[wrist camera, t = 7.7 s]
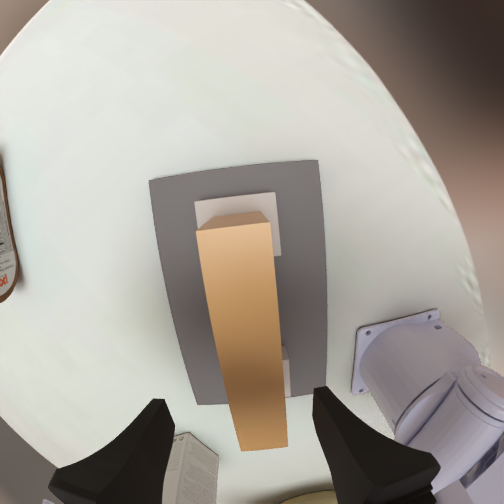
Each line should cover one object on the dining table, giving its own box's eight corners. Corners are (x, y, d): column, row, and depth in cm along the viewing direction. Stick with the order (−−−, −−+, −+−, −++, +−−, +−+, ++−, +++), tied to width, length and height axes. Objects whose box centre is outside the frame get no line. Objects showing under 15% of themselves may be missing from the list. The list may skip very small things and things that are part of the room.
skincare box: (161, 438, 25) (140, 519, 13) (189, 431, 25) (173, 520, 13) (193, 463, 26) (183, 538, 14) (220, 456, 26) (216, 537, 14)
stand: (314, 161, 19) (333, 153, 15) (322, 384, 23) (334, 416, 19) (152, 180, 19) (129, 178, 15) (198, 398, 23) (192, 431, 19)
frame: (260, 211, 17) (270, 222, 11) (278, 390, 20) (288, 446, 14) (212, 217, 17) (195, 231, 11) (241, 394, 20) (241, 451, 14)
